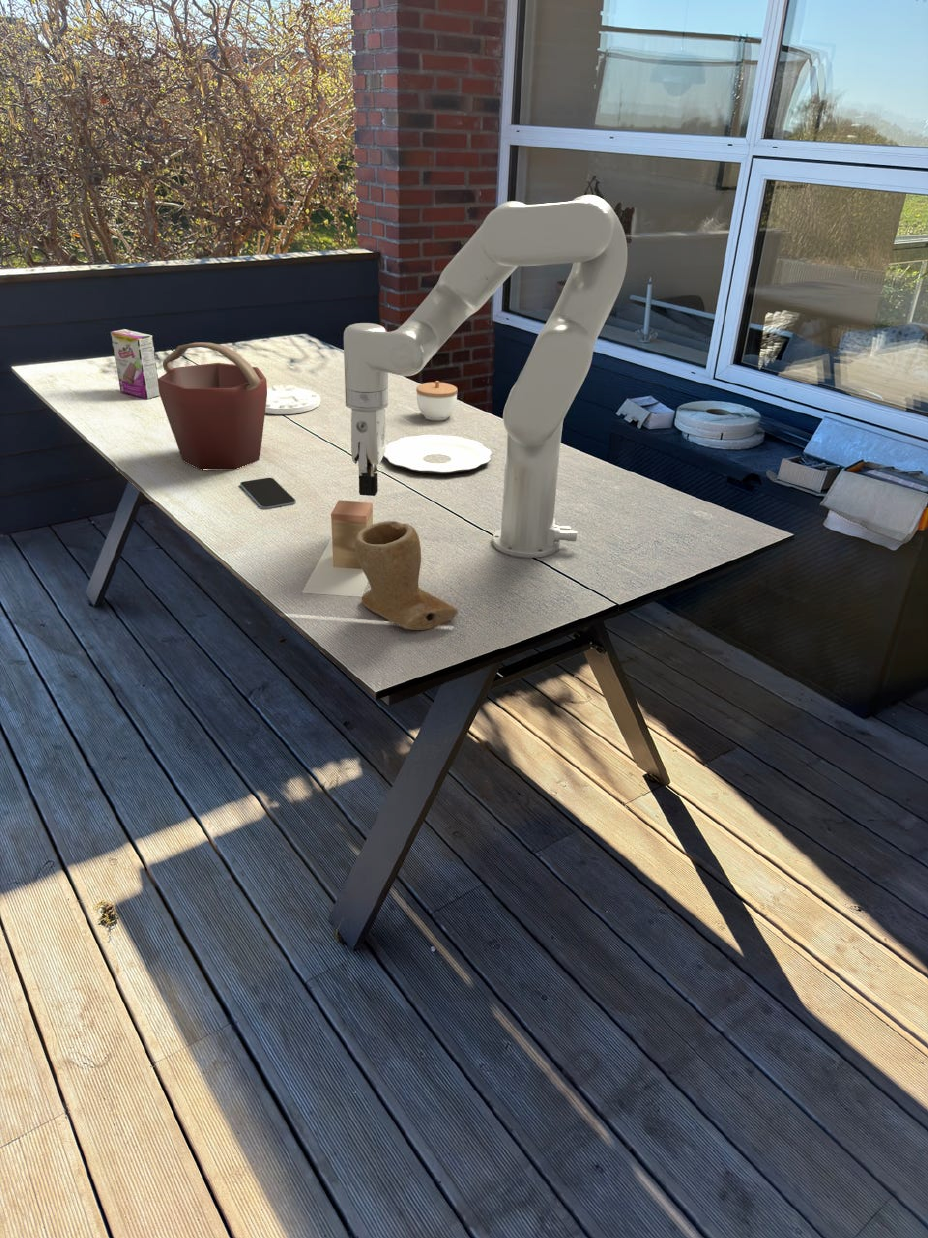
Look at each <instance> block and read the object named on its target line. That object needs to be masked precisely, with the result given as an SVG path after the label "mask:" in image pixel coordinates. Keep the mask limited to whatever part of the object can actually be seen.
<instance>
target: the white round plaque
mask: <svg viewBox="0 0 928 1238" xmlns="http://www.w3.org/2000/svg"><path fill="white" fill-rule="evenodd" d="M320 404H321V396H320V395H319V394H318V392H315V391H312V390H309V389H305V388H301V387H300V388H298V387H296V385H290V384H289V385H286V386H285V387H284V385H281V384H279V385H272V387H267V399H266V408H265V414H272V415H273V414H274V415H289V414H290V415H293V414H298V413H300V414H301V413H304V412H305V413H306V412H309V411H313V410H314V409H317V408H318V407H319V406H320Z"/></svg>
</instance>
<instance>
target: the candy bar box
mask: <svg viewBox="0 0 928 1238" xmlns="http://www.w3.org/2000/svg"><path fill="white" fill-rule="evenodd" d="M110 337H111V343H112V349H113V354H114V361H115V366H116V367H115V368H116V372H117V378H118V384H119V385H118V386H119V392H120V393H123V394H125V395H130V396H133V397H137V398H141V399H145V400H151V399H154V398H155V399H156V398H158V397H160V394H159V388H158V380H157V379H159V376H158V369H157V362H156V356H155V355H156V354H155V347H154V341H153V340H154V339H153V335H151V334H147V333H143V332H139V331H134V330H131V329H125V328H123V329H118V330H113V331H110Z"/></svg>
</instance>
